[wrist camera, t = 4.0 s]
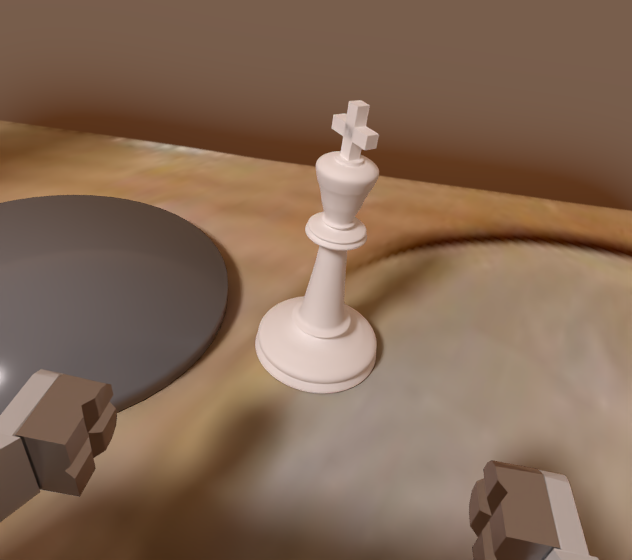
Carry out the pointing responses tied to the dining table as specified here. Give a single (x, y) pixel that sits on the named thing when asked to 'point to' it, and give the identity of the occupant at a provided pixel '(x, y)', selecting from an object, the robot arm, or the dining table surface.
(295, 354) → the chess piece
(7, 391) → the charcoal plate
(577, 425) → the dining table surface
